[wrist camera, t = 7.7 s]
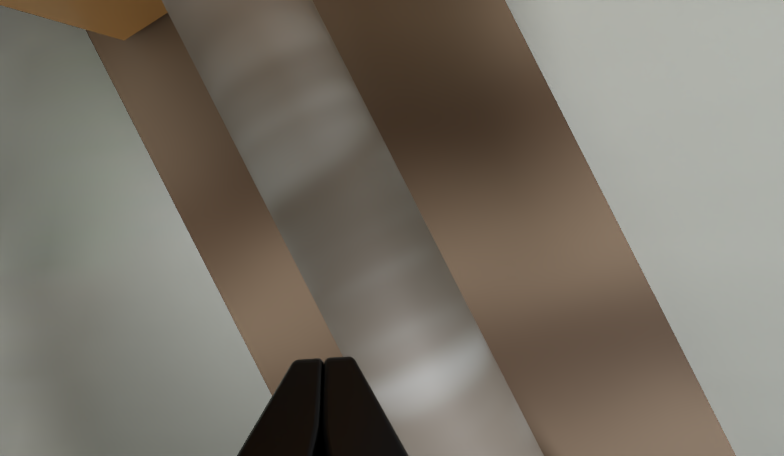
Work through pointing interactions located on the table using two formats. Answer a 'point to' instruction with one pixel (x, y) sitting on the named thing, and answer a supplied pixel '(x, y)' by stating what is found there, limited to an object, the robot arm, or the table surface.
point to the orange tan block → (96, 14)
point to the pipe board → (466, 209)
